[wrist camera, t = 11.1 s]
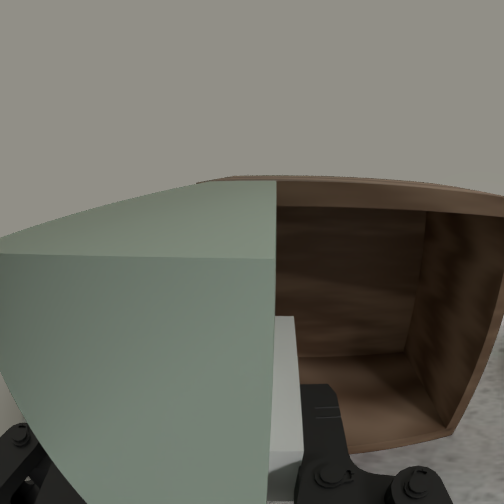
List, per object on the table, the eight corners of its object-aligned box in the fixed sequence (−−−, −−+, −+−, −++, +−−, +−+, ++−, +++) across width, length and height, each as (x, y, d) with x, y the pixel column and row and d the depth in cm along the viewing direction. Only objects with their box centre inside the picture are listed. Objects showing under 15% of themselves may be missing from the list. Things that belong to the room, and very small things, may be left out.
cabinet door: (226, 433, 18) (209, 181, 13) (270, 435, 17) (276, 180, 13) (192, 590, 6) (-37, 252, 2) (258, 597, 6) (276, 257, 2)
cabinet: (237, 358, 33) (230, 176, 28) (406, 353, 32) (432, 183, 26) (208, 492, 16) (157, 189, 11) (467, 465, 14) (565, 211, 9)
